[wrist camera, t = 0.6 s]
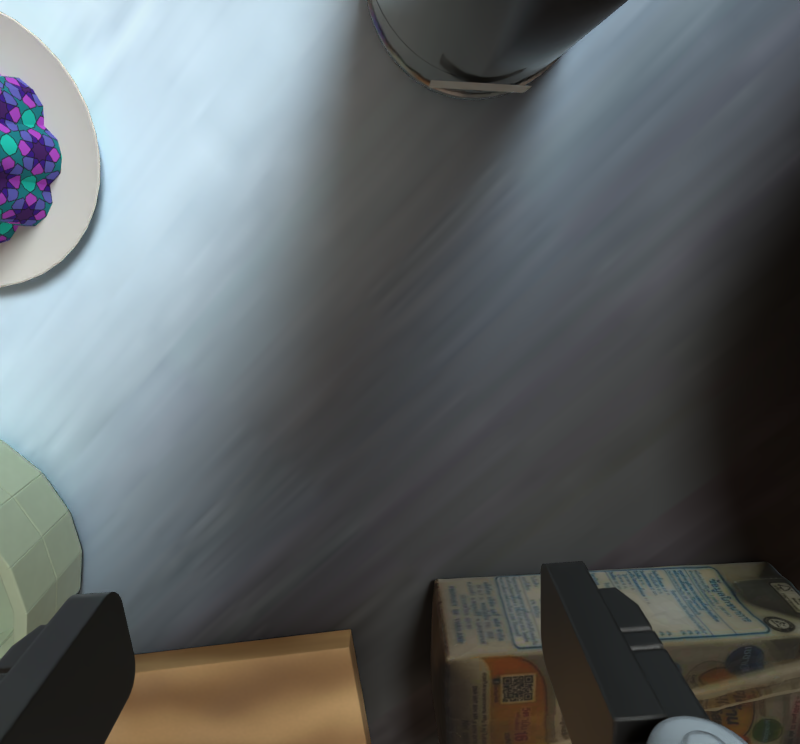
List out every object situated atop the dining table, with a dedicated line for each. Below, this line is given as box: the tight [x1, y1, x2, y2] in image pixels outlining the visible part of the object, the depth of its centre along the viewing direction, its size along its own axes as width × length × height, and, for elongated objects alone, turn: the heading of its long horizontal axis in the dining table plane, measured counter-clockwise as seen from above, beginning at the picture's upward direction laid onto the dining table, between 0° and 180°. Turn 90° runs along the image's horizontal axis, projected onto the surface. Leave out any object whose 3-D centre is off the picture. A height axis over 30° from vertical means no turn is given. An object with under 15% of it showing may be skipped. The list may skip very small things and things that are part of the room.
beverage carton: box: [431, 561, 800, 744], centre depth 31 cm, size 8×19×7 cm, turn 93°
